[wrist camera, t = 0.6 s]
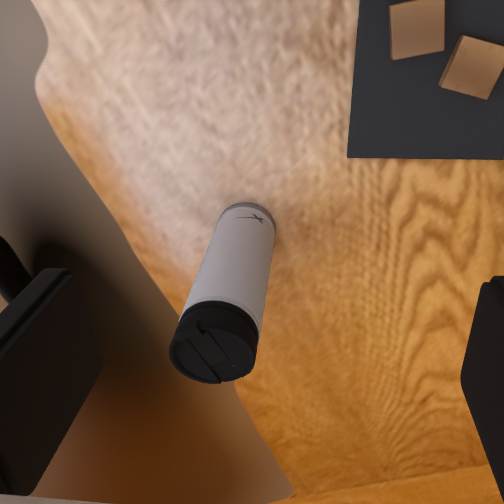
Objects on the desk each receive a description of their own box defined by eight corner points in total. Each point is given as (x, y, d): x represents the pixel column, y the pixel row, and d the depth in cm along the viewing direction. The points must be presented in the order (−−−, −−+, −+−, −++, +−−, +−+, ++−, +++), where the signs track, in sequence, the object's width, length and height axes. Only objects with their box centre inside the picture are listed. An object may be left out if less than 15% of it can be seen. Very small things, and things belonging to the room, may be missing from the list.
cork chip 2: (460, 33, 36) (464, 35, 35) (507, 47, 36) (513, 49, 35) (437, 84, 38) (441, 87, 37) (482, 96, 38) (487, 100, 37)
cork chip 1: (388, 5, 35) (390, 5, 34) (441, -7, 34) (445, -7, 33) (390, 58, 37) (392, 60, 36) (441, 48, 36) (444, 50, 35)
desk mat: (372, -148, 31) (373, -150, 31) (588, -162, 30) (592, -164, 29) (346, 156, 43) (347, 158, 42) (501, 158, 41) (503, 160, 40)
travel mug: (258, 190, 45) (224, 314, 28) (285, 241, 48) (269, 383, 31) (206, 212, 47) (146, 341, 31) (235, 260, 50) (194, 403, 33)
